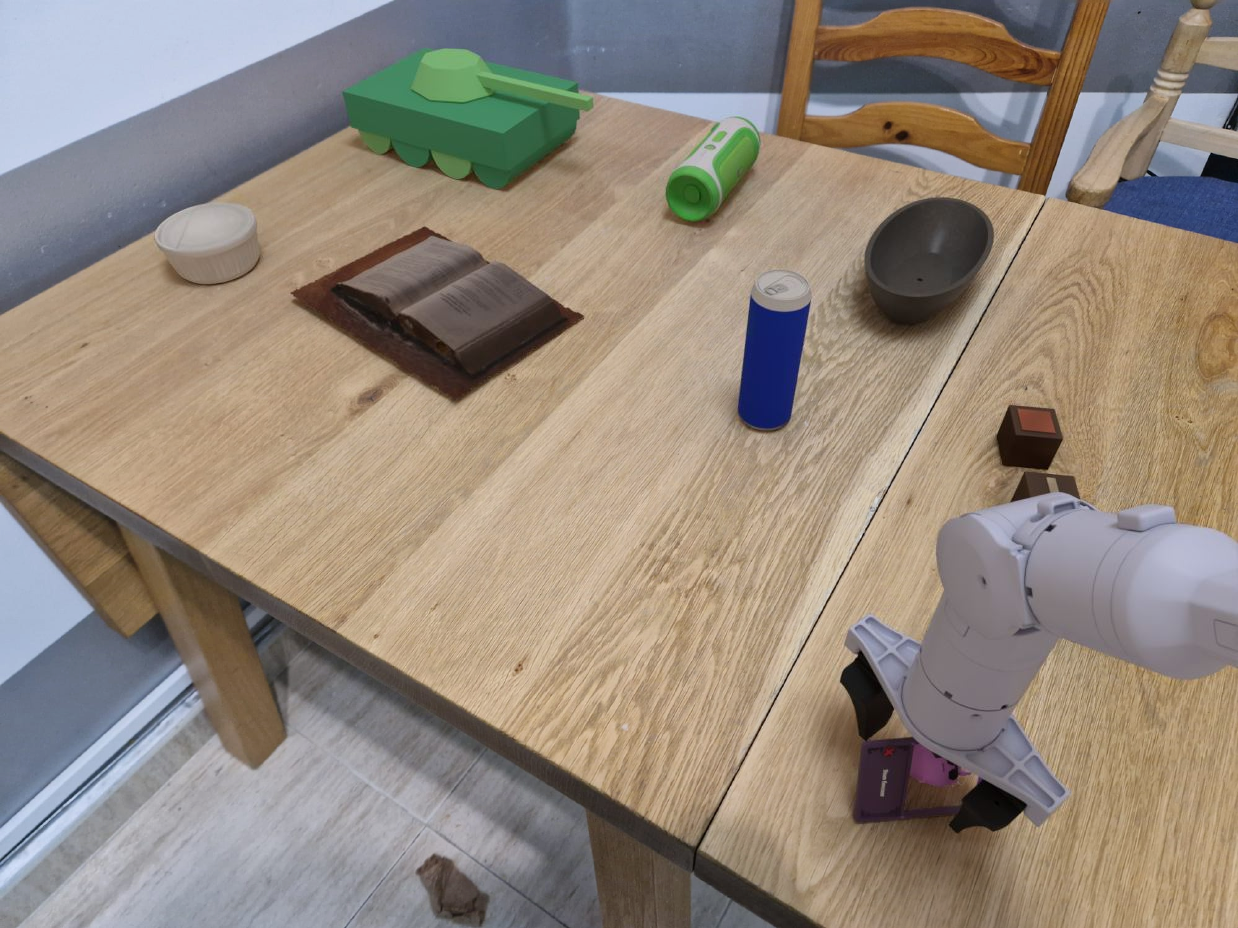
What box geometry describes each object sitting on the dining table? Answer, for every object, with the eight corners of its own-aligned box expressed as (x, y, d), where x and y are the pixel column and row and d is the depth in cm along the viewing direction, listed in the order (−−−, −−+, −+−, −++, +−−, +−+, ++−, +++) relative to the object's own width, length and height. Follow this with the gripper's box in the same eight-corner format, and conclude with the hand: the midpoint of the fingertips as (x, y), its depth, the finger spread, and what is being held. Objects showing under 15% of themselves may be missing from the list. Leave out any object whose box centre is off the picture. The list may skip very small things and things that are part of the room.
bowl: (829, 325, 94) (839, 276, 89) (897, 233, 106) (909, 186, 102) (940, 361, 89) (956, 311, 85) (997, 260, 102) (1013, 213, 97)
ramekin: (157, 261, 104) (139, 222, 101) (245, 230, 109) (231, 191, 105) (191, 302, 98) (173, 262, 94) (283, 267, 103) (270, 227, 99)
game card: (867, 754, 52) (1012, 741, 53) (841, 696, 57) (974, 685, 57) (858, 832, 55) (995, 820, 56) (834, 771, 60) (960, 760, 60)
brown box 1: (1040, 440, 81) (1055, 407, 78) (1047, 470, 78) (1064, 438, 75) (995, 436, 81) (1009, 403, 78) (1001, 466, 78) (1016, 433, 75)
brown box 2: (1057, 507, 75) (1074, 475, 72) (1066, 543, 72) (1084, 510, 69) (1009, 502, 75) (1024, 469, 72) (1016, 537, 73) (1032, 505, 70)
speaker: (714, 232, 107) (718, 176, 102) (660, 220, 110) (662, 164, 104) (761, 171, 118) (767, 117, 113) (711, 161, 121) (715, 107, 115)
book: (456, 408, 85) (452, 372, 82) (289, 298, 98) (280, 263, 95) (590, 325, 97) (591, 290, 94) (426, 236, 109) (422, 203, 106)
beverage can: (766, 391, 86) (784, 260, 75) (801, 419, 83) (826, 288, 72) (726, 411, 84) (739, 280, 73) (761, 441, 81) (780, 309, 70)
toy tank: (552, 117, 103) (335, 63, 116) (559, 210, 112) (357, 151, 125) (626, 65, 113) (419, 21, 126) (627, 154, 122) (434, 104, 135)
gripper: (1138, 722, 45) (1048, 826, 54) (918, 546, 53) (874, 664, 63) (1055, 802, 42) (976, 897, 52) (837, 603, 50) (804, 717, 60)
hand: (915, 773), depth 57 cm, fingers open, 7 cm apart
